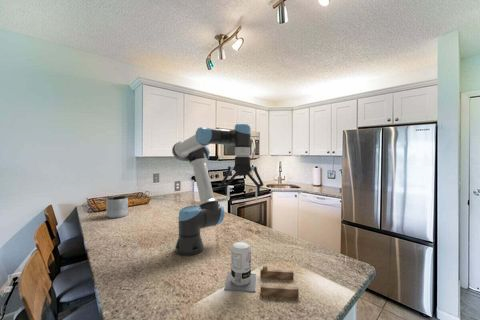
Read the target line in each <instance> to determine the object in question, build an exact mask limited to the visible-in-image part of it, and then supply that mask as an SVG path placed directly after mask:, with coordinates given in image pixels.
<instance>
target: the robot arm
mask: <svg viewBox="0 0 480 320" xmlns="http://www.w3.org/2000/svg"><path fill="white" fill-rule="evenodd" d="M251 134H252V133H251V125H250V124H249V123H236V124H235V126H234V129H222V128H214V127H207V126H206V127H205V126H204V127H198V128H197V130H195V134H193V135H192V136H190V137H189V138H187V139H185V140H181V141H178V142H176V143H174V144H173V146H172V150H171V151H172V155H173V157H174V158H176V160H178V161H181V162H189V165H190V166H191V167H192V168H193V173H194V179H195V183H196V187H197V191H198V196H199V201H200V203H199V205H197V204H195V205H188V206H184V207H183V208H182V207H181V209H180V210H179V211H178V219H177V220H178V236H177V237H178V238H177V241H176V244H175V246H174V247H175V249H174V250H175V251H174V252H175V253H176V254H177V255H180V256H185V257H186V256H193V255H197V254H200V253H201V252H202V251H203V250H204V242H203V240H202V237H201V236H202V235H201V229H205V228H209V227H213V226H214V227H215V226H217V225H221V223H223V221H224V218H225V209H224V206H223V205H222V204H219V200H217V199H216V198H215V195H214V190H213V187H212V182H211V178H210V175H209V170H208V165H207V163H208V161H209V159H210V149H209V147H208V146H209V145H224V146H230V145H231V146H234V156H235V157H234V165H233V166H231V165H229V166H228V167H227V171H226V173H225V175H224V178H223V179H222V181H221V184H220V185H221V186H223V187H224V193H225V194H226V201H229V200H230V186H229V185H230V184H231V182H232V181H234V179H235V178H236V177H237V176H238V177H241V176H244V177H246V176H248V178H249V179H250V180H251V181H252V182H253V184H254V185H255V197H254V198H255V202H258V195H260V192H261V190H260V189H261V187H263V186H264V183H263V181H262V178H261V176H260V174H259V172H258V167H257V166H252V165H251V157H250V156H251V139H252V138H251ZM233 170H234V173H233V175H232V176H231V177H230V176H229V175H230V173H231V172H232V171H233ZM251 170H252V172H254V174H255V176H256V178H257V180H258V181H257V180H256V179H255V178H254V176H253V175H252V174H251V173H250V172H251ZM228 177H230V178H229V180H228V181H227V179H228ZM226 181H227V182H226Z"/></svg>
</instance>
